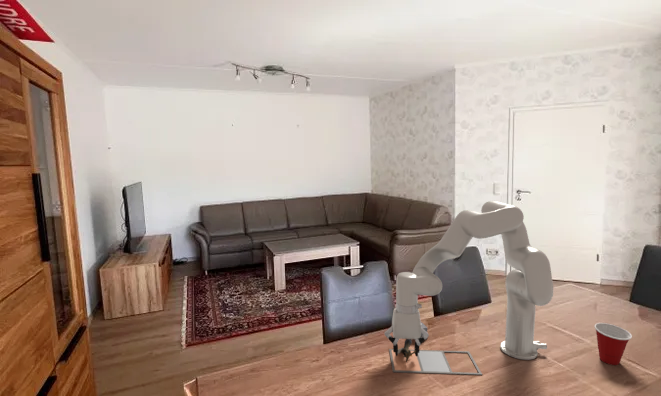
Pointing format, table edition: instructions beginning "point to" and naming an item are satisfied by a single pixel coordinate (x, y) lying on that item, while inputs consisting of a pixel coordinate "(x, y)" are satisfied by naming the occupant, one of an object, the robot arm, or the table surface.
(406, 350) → the eagle figurine
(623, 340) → the plastic cup
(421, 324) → the die
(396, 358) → the board
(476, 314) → the table surface
